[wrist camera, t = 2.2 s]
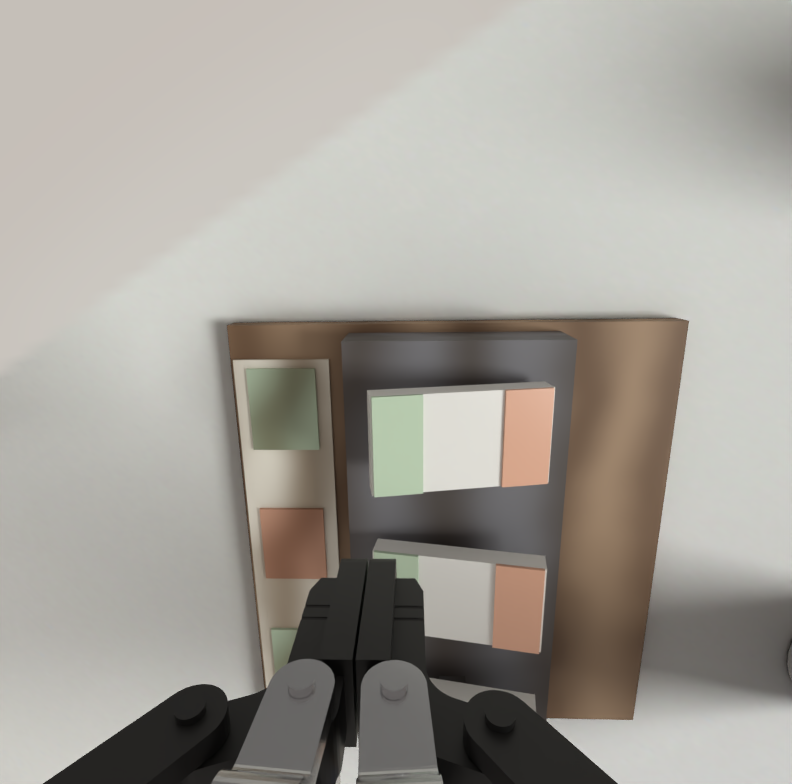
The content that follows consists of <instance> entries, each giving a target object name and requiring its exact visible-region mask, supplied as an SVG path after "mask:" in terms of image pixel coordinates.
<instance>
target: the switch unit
mask: <svg viewBox="0 0 792 784" xmlns="http://www.w3.org/2000/svg"><path fill="white" fill-rule="evenodd" d="M688 323H689V321H687V320H683V319H678V318H661V319H560V320H460V321H359V322H258V323H232V324H230V325H227V330H228V340H229V350H230V359H231V369H232V379H233V388H234V398H235V407H236V417H237V427H238V436H239V446H240V456H241V465H242V475H243V485H244V494H245V504H246V514H247V523H248V533H249V542H250V552H251V562H252V571H253V581H254V591H255V600H256V610H257V620H258V629H259V639H260V649H261V658H262V668H263V677H264V687H265V689H266V688H267V687H268V685H269V682H270V680H271V679H272V677H273V676H274V674H275V673H276V672H277V671H278V670H279V669H280V668H282V667H283V666H285V665H286V664H287V663H288V659H289V656H290V653H291V650H292V646H293V643H294V640H295V637H296V633H297V630H298V627H299V624H300V620H301V619H302V614H303V610H304V608H305V604H306V601H307V597H308V594H309V591H310V589H311V588H312V587H313V586H314V585H315V584H316V583H317V582H318V581H319V580H320V578H337V574H338V570H339V566H340V562H341V559H368V561H369V560H370V559H373V551H372V550H373V548H374V546H375V544H376V541H377V539H378V538H379V539H389V540H398V541H408V542H417V543H427V544H436V545H446V546H456V547H465V548H475V549H484V550H494V551H504V552H513V553H523V554H532V555H542V556H545V558H546V566H547V577H546V590H545V603H544V616H543V630H542V643H541V652H539V654H534V653H527V652H520V651H513V650H506V649H499V648H492V645H486V644H479V643H472V642H465V641H458V640H451V639H444V638H437V637H430V636H425V656H426V671H427V674H428V677H429V678H435V679H441V680H447V681H453V682H460V683H466V684H472V685H478V686H485V687H491V688H497V689H503V690H510V691H516V692H522V693H528V694H535V702H536V713H537V714H538V715H540V716H541V717H542V718H543V719H544V720H545V721H546V718H567V719H617V720H633V715H634V708H635V701H636V694H637V687H638V680H639V672H640V665H641V658H642V651H643V644H644V637H645V630H646V623H647V615H648V608H649V601H650V594H651V587H652V580H653V573H654V566H655V559H656V551H657V544H658V537H659V530H660V523H661V516H662V509H663V502H664V494H665V487H666V480H667V473H668V466H669V459H670V452H671V445H672V437H673V430H674V423H675V416H676V409H677V402H678V395H679V388H680V380H681V373H682V366H683V359H684V352H685V345H686V338H687V331H688ZM541 381H545V382H547V383H549V384H550V385H552V386H554V387H555V398H554V412H553V426H552V440H551V454H550V467H549V481H548V484H539V485H527V486H514V487H501V486H496V487H483V488H470V489H457V490H445V491H432V492H423V494H412V495H399V496H386V497H374V496H372V494H371V489H370V477H369V444H368V412H367V390H381V389H401V388H421V387H441V386H461V385H481V384H501V383H521V382H541ZM358 738H359V729H358Z"/></svg>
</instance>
